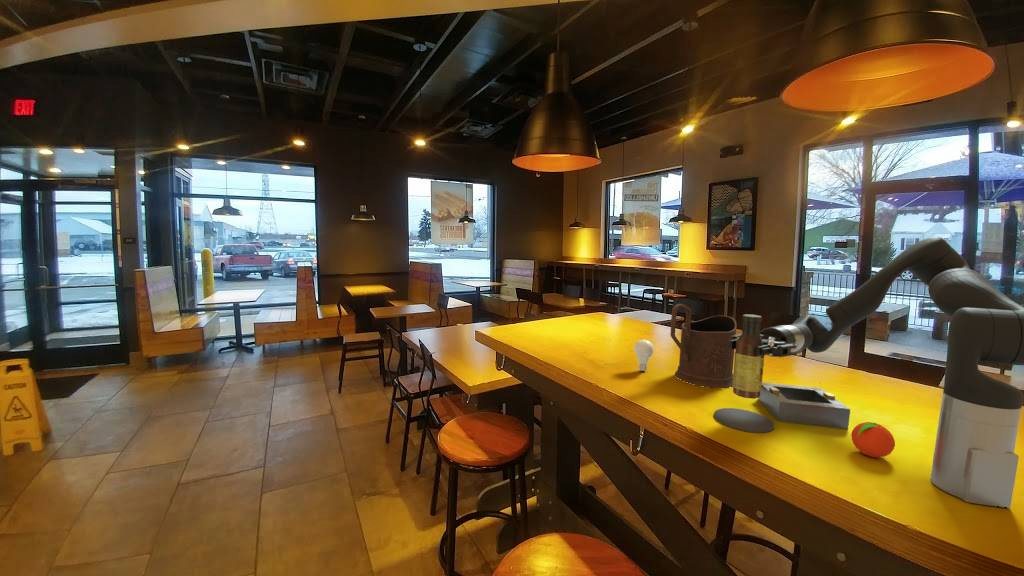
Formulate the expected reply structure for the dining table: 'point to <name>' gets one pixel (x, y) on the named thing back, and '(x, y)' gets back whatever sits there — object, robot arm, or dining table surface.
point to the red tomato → (873, 439)
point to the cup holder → (705, 350)
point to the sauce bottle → (748, 359)
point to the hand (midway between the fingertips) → (744, 348)
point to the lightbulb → (643, 353)
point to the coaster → (744, 420)
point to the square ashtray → (804, 405)
